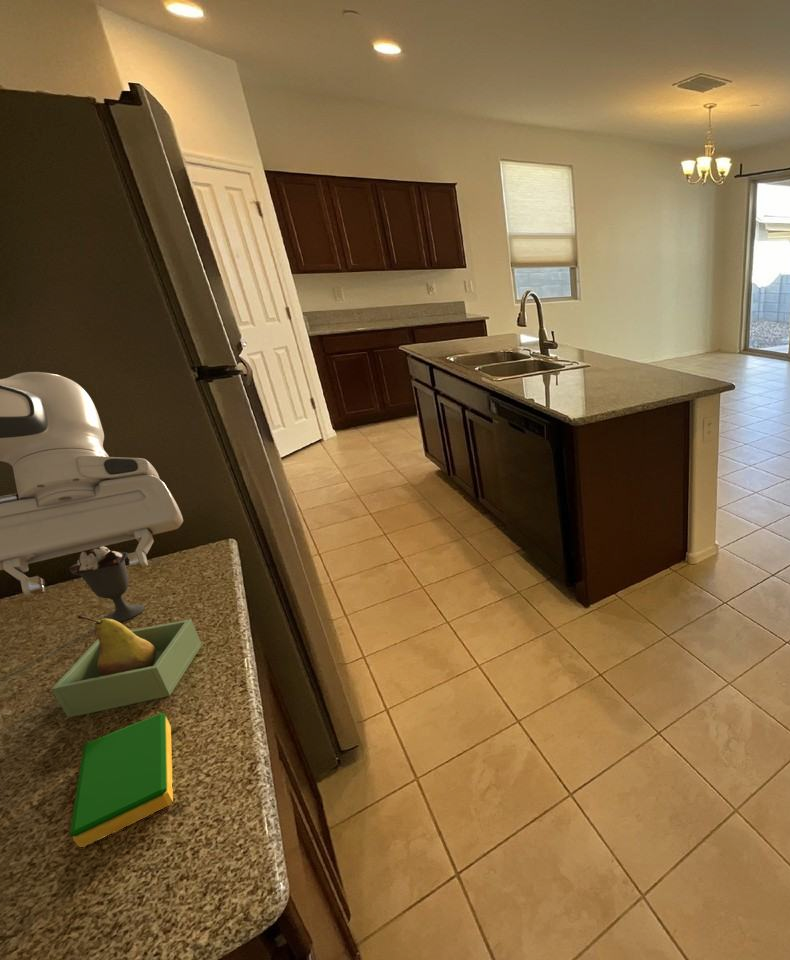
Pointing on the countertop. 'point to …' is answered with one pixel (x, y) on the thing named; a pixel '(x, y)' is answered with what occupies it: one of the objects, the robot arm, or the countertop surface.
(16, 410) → the robot arm
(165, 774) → the dish sponge
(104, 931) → the countertop surface
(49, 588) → the countertop surface
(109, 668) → the fruit
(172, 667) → the bin
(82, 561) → the sundae
